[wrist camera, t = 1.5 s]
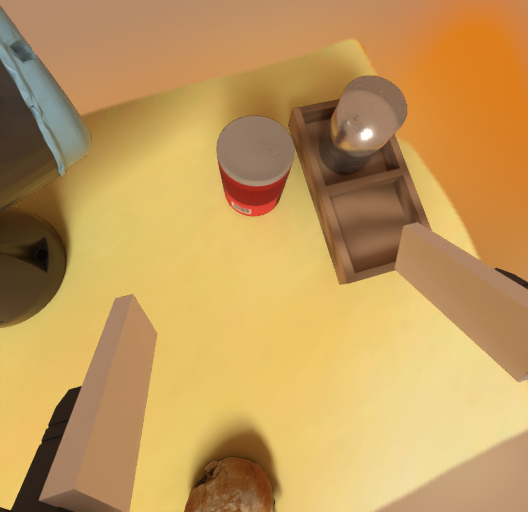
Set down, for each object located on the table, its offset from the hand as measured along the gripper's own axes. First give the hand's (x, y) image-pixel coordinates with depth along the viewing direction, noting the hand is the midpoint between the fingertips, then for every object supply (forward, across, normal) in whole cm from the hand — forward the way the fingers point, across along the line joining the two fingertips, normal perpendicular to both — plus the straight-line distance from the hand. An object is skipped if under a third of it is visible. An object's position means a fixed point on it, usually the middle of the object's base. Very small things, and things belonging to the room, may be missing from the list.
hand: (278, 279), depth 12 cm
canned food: (+26, +3, -5) cm, 26 cm away
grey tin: (+27, +17, -3) cm, 33 cm away
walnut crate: (+23, +17, -8) cm, 30 cm away
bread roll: (0, -9, -32) cm, 33 cm away
